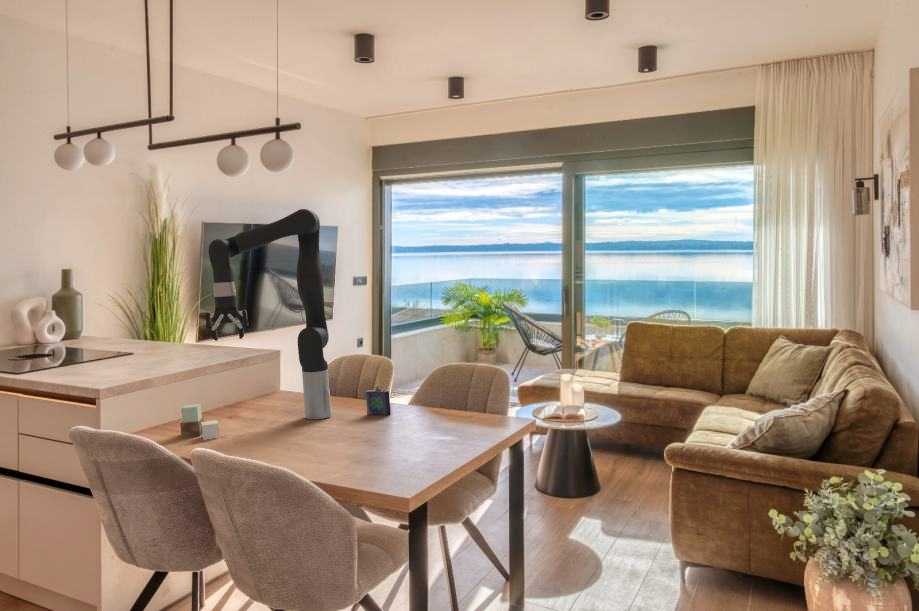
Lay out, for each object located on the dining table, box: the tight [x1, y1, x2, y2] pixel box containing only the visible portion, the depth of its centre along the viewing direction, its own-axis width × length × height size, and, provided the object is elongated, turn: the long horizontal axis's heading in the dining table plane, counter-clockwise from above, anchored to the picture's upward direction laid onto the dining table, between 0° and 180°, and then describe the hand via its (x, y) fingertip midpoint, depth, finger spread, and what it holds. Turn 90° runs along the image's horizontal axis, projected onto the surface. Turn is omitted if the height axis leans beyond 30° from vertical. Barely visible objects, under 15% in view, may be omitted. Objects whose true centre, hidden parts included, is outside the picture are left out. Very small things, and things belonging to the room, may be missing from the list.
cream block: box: [201, 419, 221, 441], centre depth 219 cm, size 5×5×5 cm
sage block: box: [181, 403, 203, 423], centre depth 223 cm, size 5×5×5 cm
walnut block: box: [180, 417, 205, 439], centre depth 224 cm, size 6×6×5 cm
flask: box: [365, 385, 392, 417], centre depth 239 cm, size 9×3×11 cm, turn 71°
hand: (228, 339), depth 238 cm, fingers open, 8 cm apart
